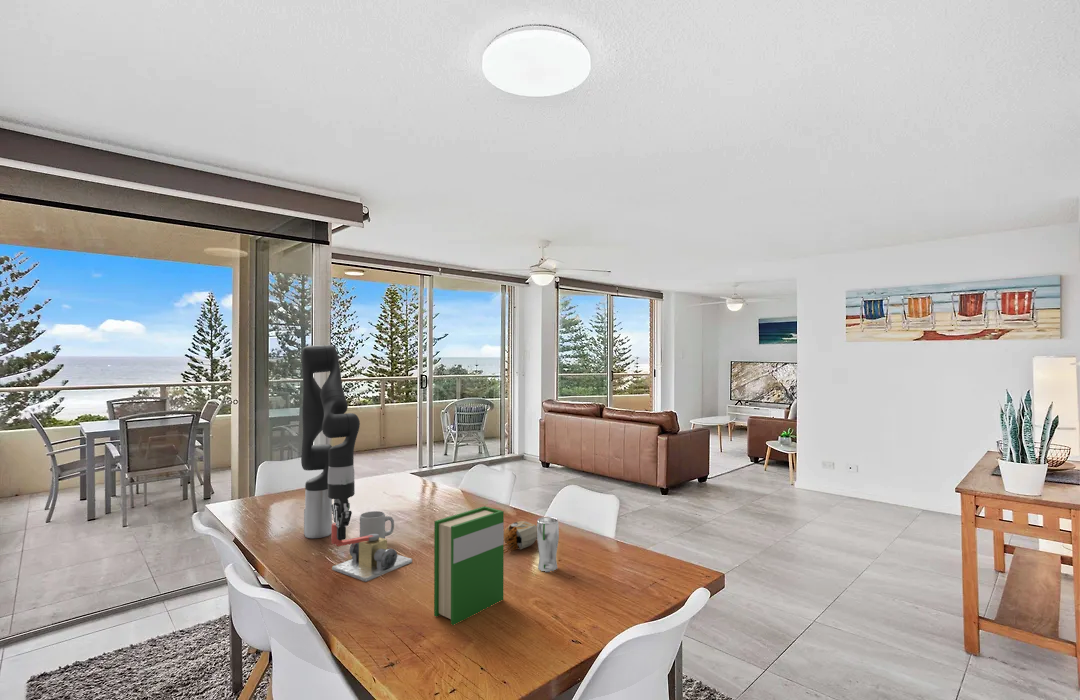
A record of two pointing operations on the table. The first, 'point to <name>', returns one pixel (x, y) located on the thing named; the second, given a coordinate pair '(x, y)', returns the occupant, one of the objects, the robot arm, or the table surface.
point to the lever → (351, 541)
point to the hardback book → (468, 562)
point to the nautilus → (520, 535)
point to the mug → (375, 524)
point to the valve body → (371, 560)
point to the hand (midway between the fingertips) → (341, 539)
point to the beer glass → (547, 543)
